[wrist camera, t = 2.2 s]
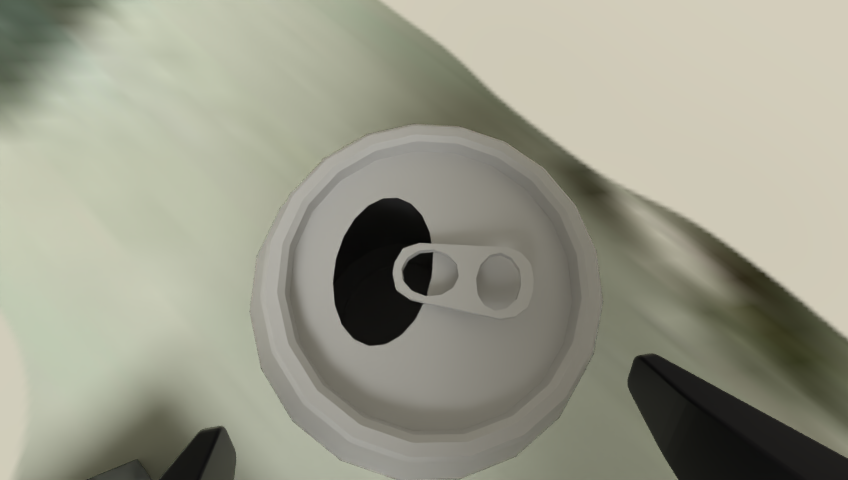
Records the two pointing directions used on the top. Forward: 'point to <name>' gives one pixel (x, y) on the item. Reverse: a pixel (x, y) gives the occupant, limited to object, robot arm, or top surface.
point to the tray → (124, 473)
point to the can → (426, 302)
